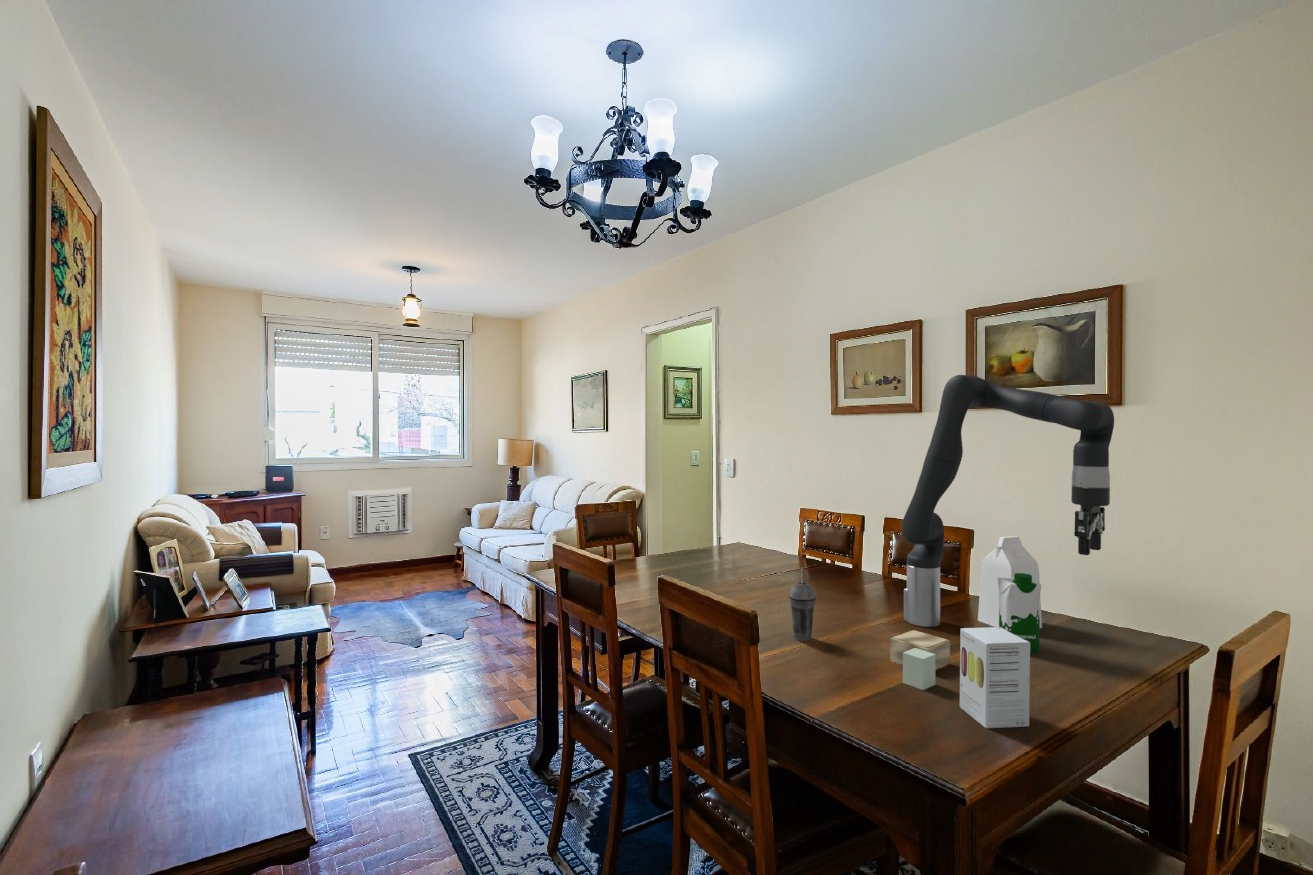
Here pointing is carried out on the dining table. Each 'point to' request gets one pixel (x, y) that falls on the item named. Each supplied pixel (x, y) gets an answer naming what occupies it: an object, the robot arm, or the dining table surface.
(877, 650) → the dining table surface
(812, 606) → the beverage cup
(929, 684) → the block
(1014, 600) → the milk carton
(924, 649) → the beige box
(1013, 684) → the supplement box
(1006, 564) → the milk
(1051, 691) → the dining table surface
